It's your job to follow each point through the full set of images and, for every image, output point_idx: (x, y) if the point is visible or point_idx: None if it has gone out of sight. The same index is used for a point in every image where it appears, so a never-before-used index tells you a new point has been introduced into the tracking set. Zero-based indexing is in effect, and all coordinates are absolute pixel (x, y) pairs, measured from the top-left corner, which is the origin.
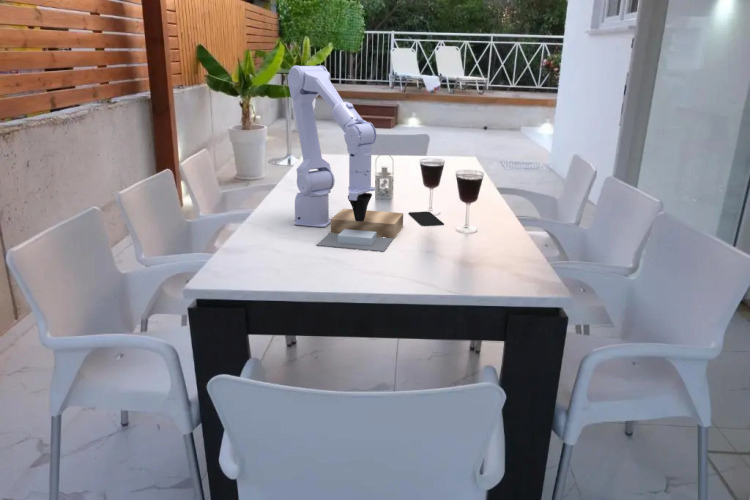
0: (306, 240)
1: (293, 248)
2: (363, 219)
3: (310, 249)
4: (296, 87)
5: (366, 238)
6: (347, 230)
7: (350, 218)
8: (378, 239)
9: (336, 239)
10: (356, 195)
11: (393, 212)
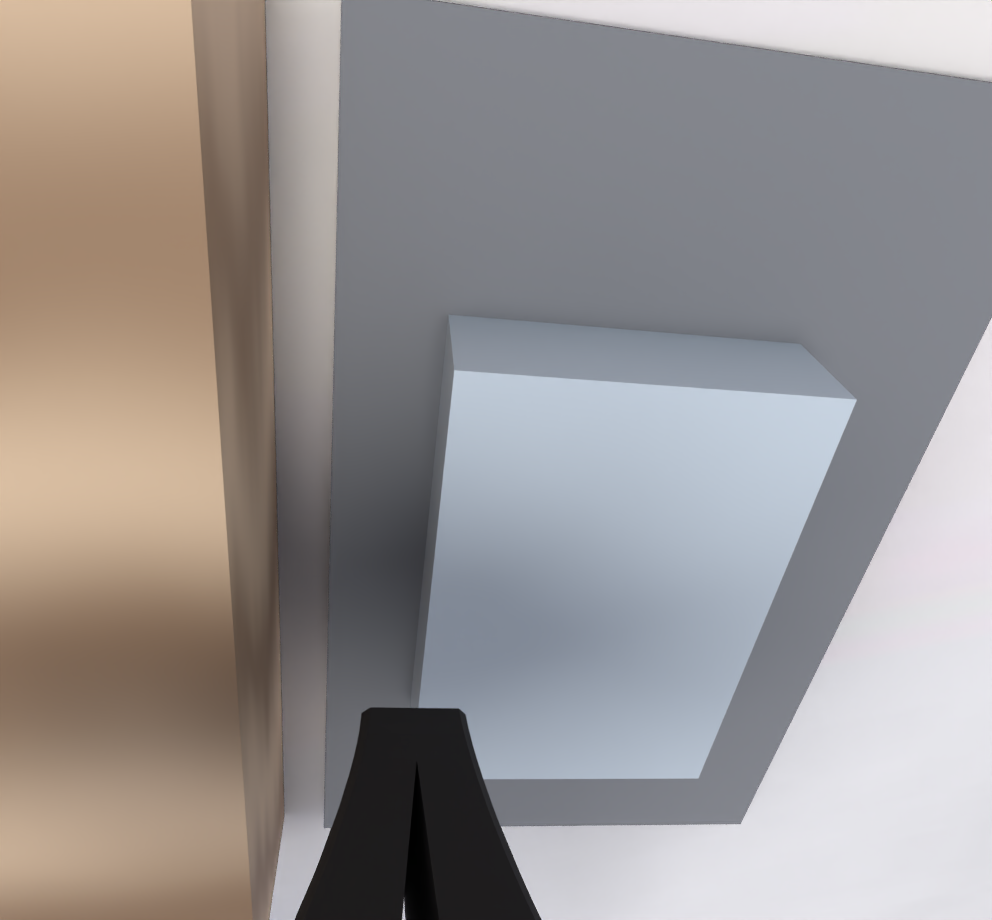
0: (576, 896)
1: (797, 905)
2: (466, 737)
3: (834, 822)
4: None
5: (819, 464)
6: None
7: (122, 857)
8: (470, 280)
9: None
10: None
11: None
